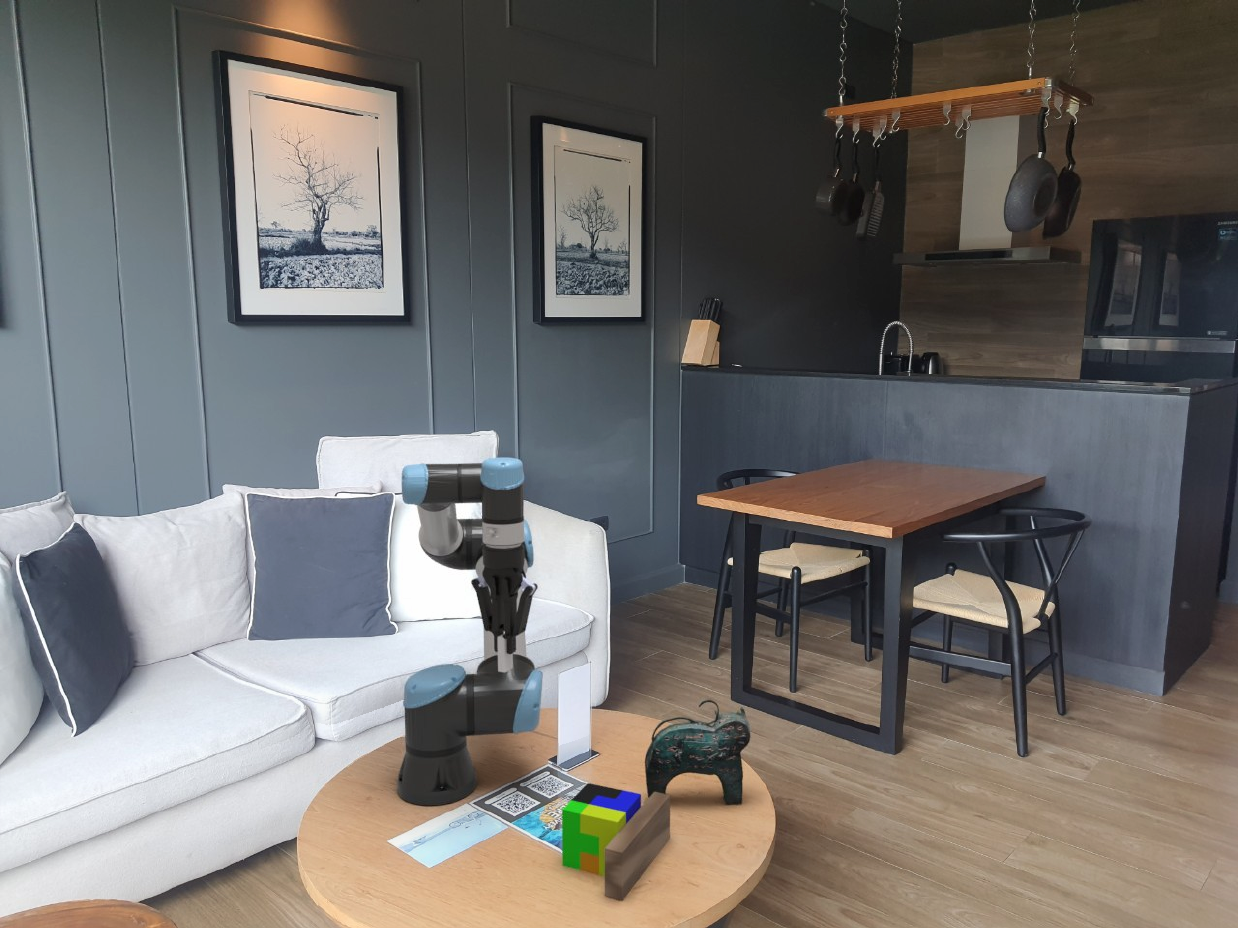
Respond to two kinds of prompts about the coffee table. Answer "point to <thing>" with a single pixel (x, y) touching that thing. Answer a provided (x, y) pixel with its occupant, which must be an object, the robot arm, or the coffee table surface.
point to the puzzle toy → (594, 825)
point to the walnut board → (636, 845)
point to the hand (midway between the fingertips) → (505, 669)
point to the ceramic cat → (700, 752)
